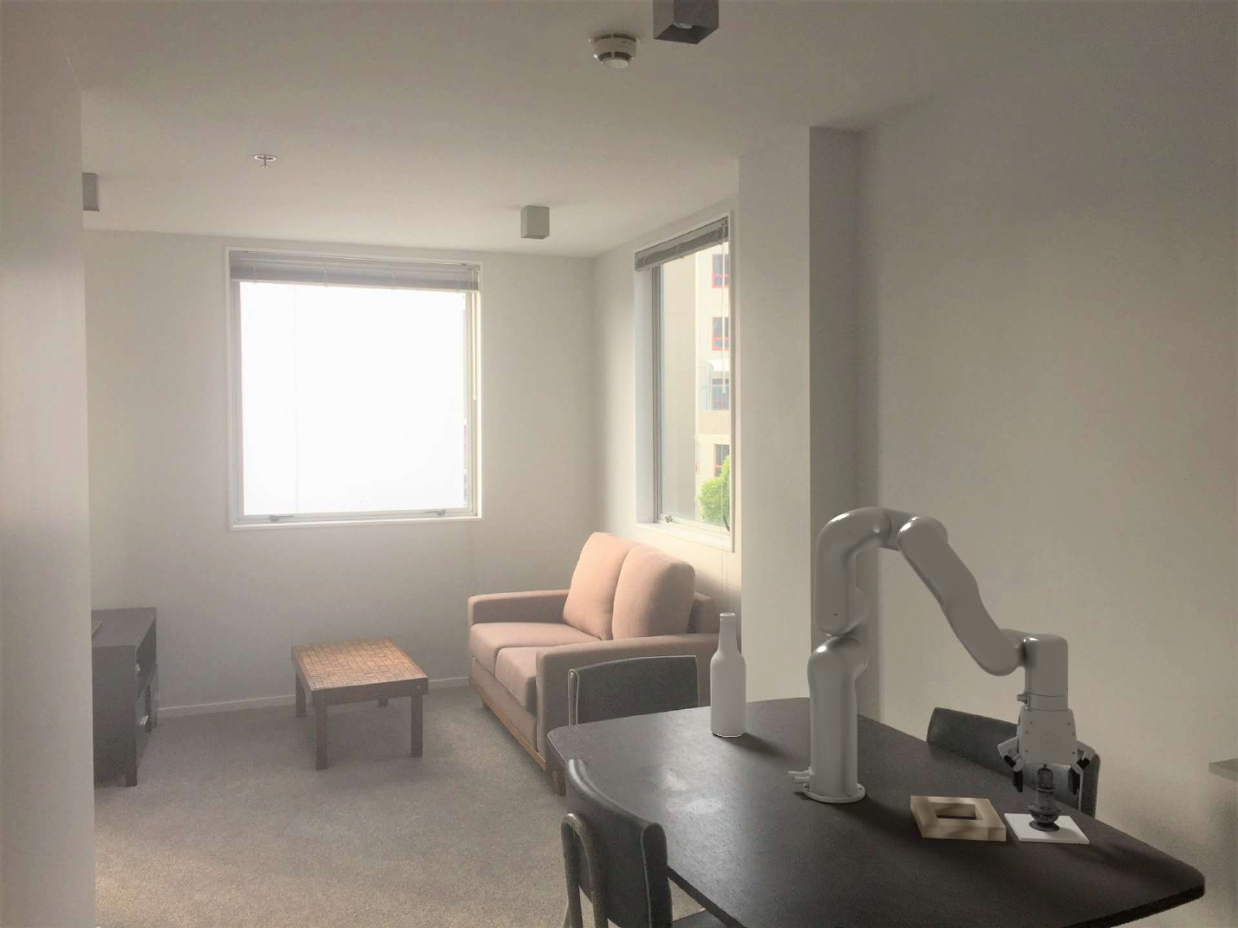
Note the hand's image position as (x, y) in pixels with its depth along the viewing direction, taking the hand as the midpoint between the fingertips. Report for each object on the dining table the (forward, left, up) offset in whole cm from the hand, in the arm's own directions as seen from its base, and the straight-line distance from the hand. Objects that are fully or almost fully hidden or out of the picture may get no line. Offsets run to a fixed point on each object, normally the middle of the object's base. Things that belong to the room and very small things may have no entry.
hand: (1045, 791), depth 191 cm
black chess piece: (0, 0, -7) cm, 7 cm away
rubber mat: (0, 0, -7) cm, 7 cm away
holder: (-16, +1, -7) cm, 18 cm away
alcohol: (-61, +55, -7) cm, 82 cm away
